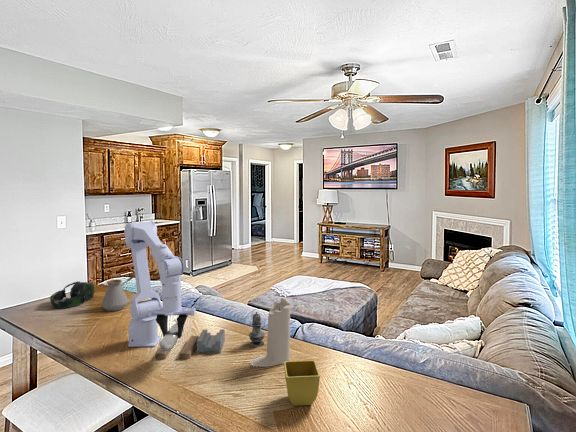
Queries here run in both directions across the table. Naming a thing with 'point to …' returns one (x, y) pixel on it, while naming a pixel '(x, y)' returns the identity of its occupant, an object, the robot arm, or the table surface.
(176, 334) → the axle
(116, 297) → the coffee pot
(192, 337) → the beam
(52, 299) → the headphones
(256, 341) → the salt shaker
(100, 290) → the table surface
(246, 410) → the table surface
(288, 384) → the flower pot
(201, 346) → the v block
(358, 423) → the table surface
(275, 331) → the white boot
